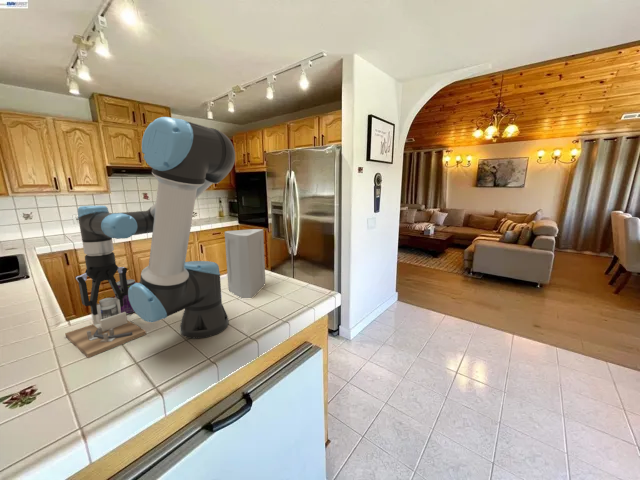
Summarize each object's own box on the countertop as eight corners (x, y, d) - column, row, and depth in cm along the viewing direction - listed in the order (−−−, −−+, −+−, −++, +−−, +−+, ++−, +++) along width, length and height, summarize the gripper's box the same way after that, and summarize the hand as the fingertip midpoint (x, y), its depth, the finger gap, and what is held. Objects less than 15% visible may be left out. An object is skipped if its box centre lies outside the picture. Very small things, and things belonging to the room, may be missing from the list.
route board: (146, 334, 87) (144, 323, 86) (88, 357, 74) (86, 345, 74) (120, 318, 98) (118, 308, 97) (65, 336, 85) (63, 325, 84)
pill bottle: (97, 326, 89) (93, 302, 87) (107, 319, 93) (104, 297, 92) (112, 326, 89) (109, 302, 87) (121, 319, 94) (118, 297, 92)
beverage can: (128, 316, 99) (124, 285, 97) (113, 314, 101) (108, 284, 98) (144, 308, 106) (140, 279, 104) (129, 306, 107) (125, 278, 105)
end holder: (127, 323, 91) (126, 312, 91) (102, 332, 86) (101, 320, 85) (117, 316, 96) (115, 306, 95) (93, 324, 90) (91, 314, 90)
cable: (133, 334, 84) (133, 331, 84) (122, 341, 80) (122, 338, 80) (98, 330, 87) (98, 328, 86) (86, 337, 83) (85, 335, 82)
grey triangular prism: (238, 282, 136) (235, 228, 131) (266, 284, 134) (263, 229, 129) (219, 297, 117) (214, 234, 112) (251, 299, 115) (248, 235, 110)
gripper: (125, 247, 96) (133, 307, 100) (59, 257, 81) (71, 327, 85) (135, 249, 92) (143, 312, 96) (66, 260, 77) (79, 334, 81)
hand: (109, 319), depth 91 cm, fingers closed on pill bottle, 5 cm apart
